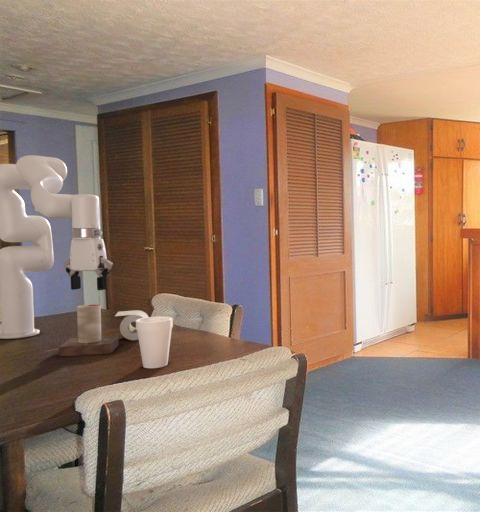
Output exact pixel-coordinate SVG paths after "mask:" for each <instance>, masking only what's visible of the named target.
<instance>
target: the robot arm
mask: <svg viewBox="0 0 480 512" xmlns="http://www.w3.org/2000/svg"><path fill="white" fill-rule="evenodd" d="M66 165H67V164H66V163H65V162H64V161H63V160H61V159H60V158H58V157H52V156H44V155H35V154H34V155H33V154H30V155H29V154H27V155H23V156H21V157H20V158H19V159H17V161H16V163H0V240H1V241H2V242H6V243H32V244H33V245H11V246H5V247H2V248H0V322H1V323H0V339H2V340H8V339H9V340H12V339H23V338H29V337H33V336H37V335H39V334H41V332H40V331H41V330H40V329H39V328H35V313H34V312H35V310H34V308H35V307H34V289H33V288H34V285H33V283H32V281H31V280H30V279H29V278H28V276H27V275H26V274H27V273H28V274H29V273H39V272H46V271H50V270H51V269H52V267H53V266H54V263H55V255H54V244H53V234H52V233H53V232H52V227H51V224H50V222H49V221H48V219H47V218H49V219H71V226H72V227H71V228H72V230H71V231H72V238H71V241H70V249H69V259H67V260H65V261H64V262H63V263H62V264H63V267H64V268H65V271H66V273H67V275H68V277H70V290H71V291H74V290H81V289H82V285H81V284H82V283H81V281H82V280H81V276H80V274H81V273H82V272H95V273H96V276H97V277H96V289H97V291H103V290H105V291H106V290H107V288H108V285H107V283H108V282H107V277H109V274H110V273H111V272H112V267H113V265H114V263H113V262H112V261H110V260H109V259H108V257H107V250H106V244H105V241H104V239H103V238H102V237H101V236H102V235H103V231H102V230H101V215H100V214H101V210H100V198H99V196H98V195H96V194H91V193H90V194H89V193H78V194H69V193H60V192H61V191H62V189H63V186H64V181H65V180H66V178H67V177H68V167H67V166H66ZM16 190H26V191H30V201H31V203H32V205H33V207H34V208H35V209H36V210H37V211H38V212H39V213H40V214H41V215H42V216H41V215H27V213H26V205H25V204H26V203H25V201H24V199H23V198H22V196H21V195H20V194H19V193H18V192H17V191H16ZM45 217H46V218H45Z"/></svg>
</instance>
